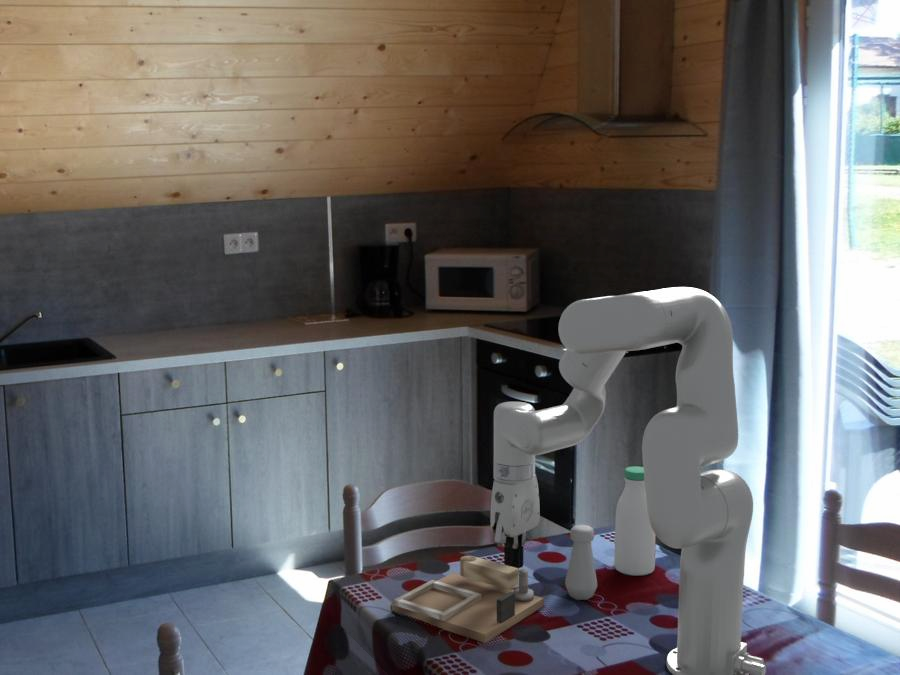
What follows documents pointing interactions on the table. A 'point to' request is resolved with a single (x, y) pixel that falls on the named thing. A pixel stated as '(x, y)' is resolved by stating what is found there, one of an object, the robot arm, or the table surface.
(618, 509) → the milk bottle
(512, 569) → the leg
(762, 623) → the table surface
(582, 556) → the salt shaker
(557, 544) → the table surface
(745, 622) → the table surface
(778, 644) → the table surface
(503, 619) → the wooden activity board
